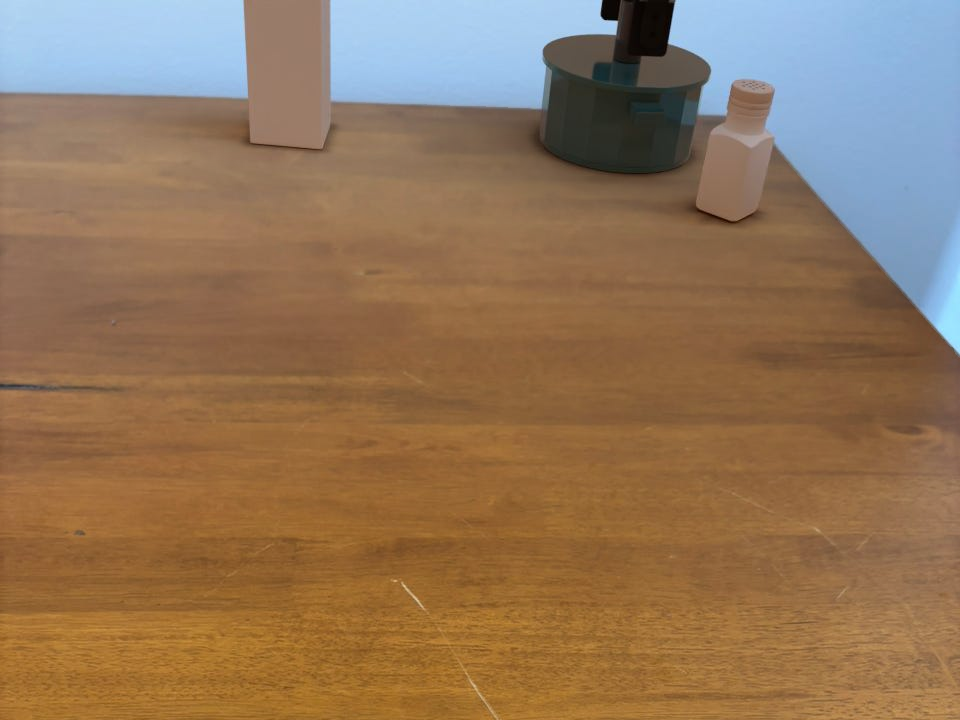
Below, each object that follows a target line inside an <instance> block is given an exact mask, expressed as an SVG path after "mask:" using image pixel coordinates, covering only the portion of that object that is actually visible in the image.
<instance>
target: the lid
mask: <svg viewBox="0 0 960 720" xmlns="http://www.w3.org/2000/svg"><path fill="white" fill-rule="evenodd" d="M632 6H633V0H621V2H620V9H619V16H618V21H617V24H616V31H615V34H607V33H606V34H603V33H602V34H601V33H594V34H593V33H592V34H591V33H589V34H587V33H586V34H576V35H575V34H574V35H570V36H564V37H560V38H556V39H554V40H551V41H549V42H548V43H546V45H544V46H543V48H542V51H541V60H542V62H543V64H544V65H545V67H546V66H547V67H548V68H549V69H551V70H552V71H554V72H555V73H557V74H559V75H561V76H563V77H565V78H568V79H570V80H573V81H576V82H579V83H582V84H586V85H589V86H593V87H598V88H602V89H608V90H613V91H620V92H629V93H642V94H668V93H679V92H685V91H690V90H694V89H696V88H699V87H701V86H703V85H704V86H705V85H706V84H707V83H709V80H710V79H711V74H712V68H711V65H710V64H709V62H707V61H706V60H705V59H704V58H703V57H701V56H699V55H698V54H696V53H694V52H693V51H690V50H688V49H686V48H682V47H679V46H677V45H674V44H670V43H668V47H667V52H666V54H665V55H664V56H663V57H651V56H631V55H629V54H628V52H627V51H626V46H627V40H628V33H629V26H630V19H631V12H632Z"/></svg>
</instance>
